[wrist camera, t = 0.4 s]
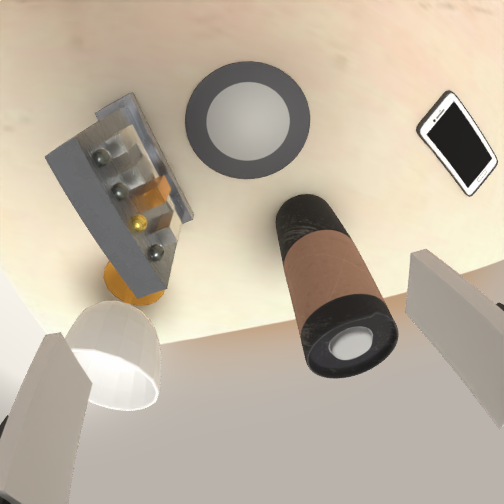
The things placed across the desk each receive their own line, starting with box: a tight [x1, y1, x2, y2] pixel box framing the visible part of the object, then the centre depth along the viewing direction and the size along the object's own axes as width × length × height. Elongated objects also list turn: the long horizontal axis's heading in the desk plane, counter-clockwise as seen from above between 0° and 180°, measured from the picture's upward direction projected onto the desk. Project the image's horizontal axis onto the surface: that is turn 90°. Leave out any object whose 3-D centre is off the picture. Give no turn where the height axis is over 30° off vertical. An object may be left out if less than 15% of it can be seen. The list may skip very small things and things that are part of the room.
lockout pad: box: [185, 61, 310, 179], centre depth 32 cm, size 13×13×1 cm
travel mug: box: [276, 194, 398, 378], centre depth 31 cm, size 8×8×20 cm
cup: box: [65, 261, 164, 411], centre depth 36 cm, size 12×12×17 cm
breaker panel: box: [45, 92, 194, 299], centre depth 28 cm, size 16×5×14 cm, turn 20°
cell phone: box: [416, 90, 498, 197], centre depth 34 cm, size 8×15×1 cm, turn 54°
